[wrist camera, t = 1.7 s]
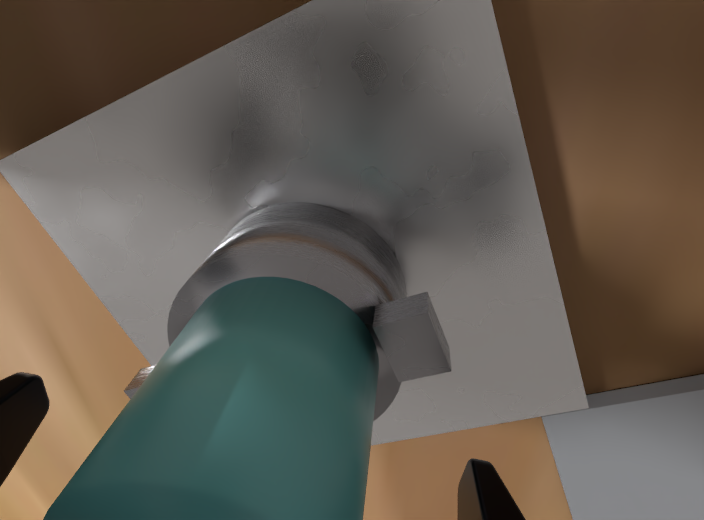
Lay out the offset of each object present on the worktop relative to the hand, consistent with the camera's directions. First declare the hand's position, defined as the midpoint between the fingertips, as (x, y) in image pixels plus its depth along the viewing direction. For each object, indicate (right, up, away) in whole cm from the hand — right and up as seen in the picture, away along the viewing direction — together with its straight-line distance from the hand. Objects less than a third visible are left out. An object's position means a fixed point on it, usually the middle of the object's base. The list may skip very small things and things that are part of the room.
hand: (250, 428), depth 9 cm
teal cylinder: (0, +1, +2) cm, 2 cm away
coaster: (+15, -4, +7) cm, 17 cm away
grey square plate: (+1, +3, +5) cm, 6 cm away
